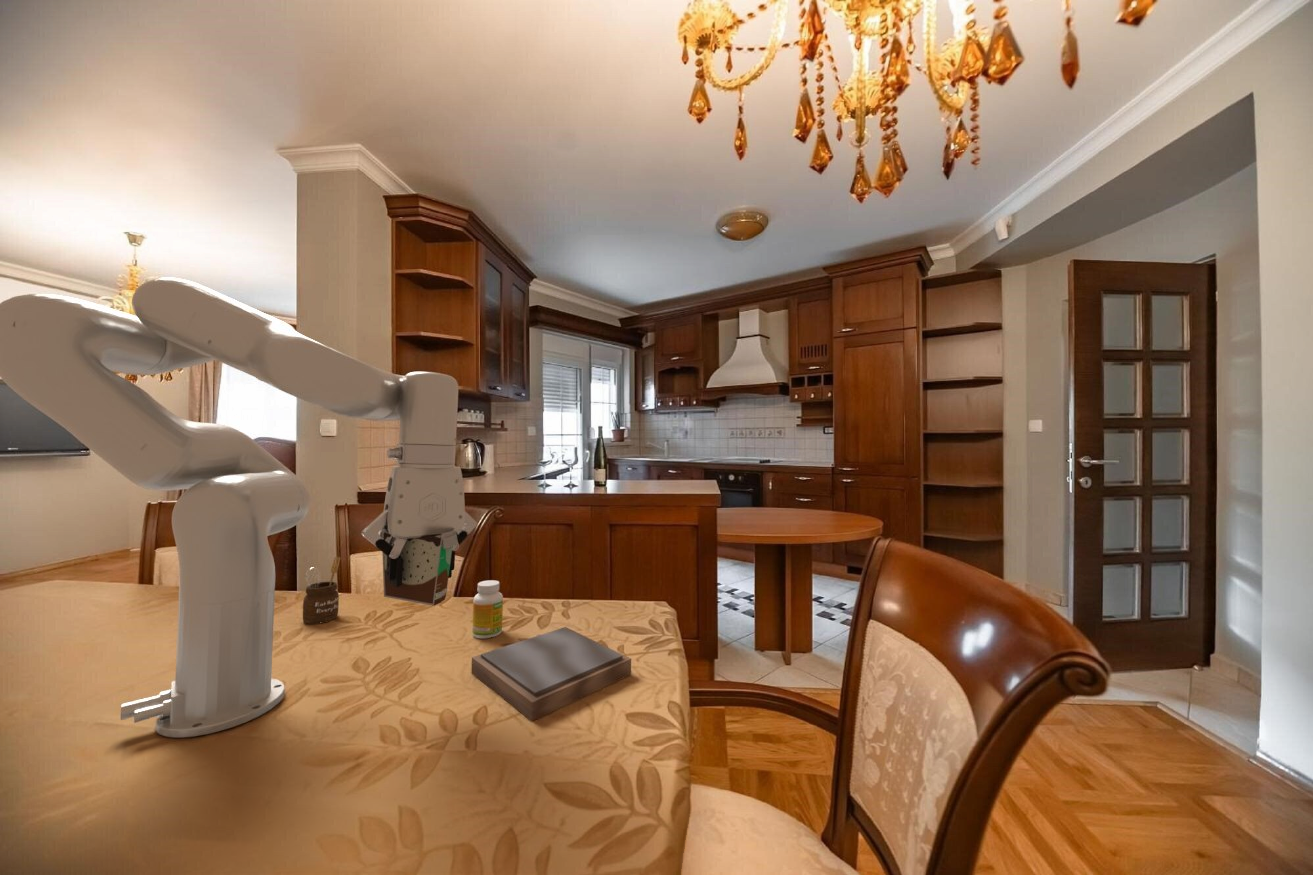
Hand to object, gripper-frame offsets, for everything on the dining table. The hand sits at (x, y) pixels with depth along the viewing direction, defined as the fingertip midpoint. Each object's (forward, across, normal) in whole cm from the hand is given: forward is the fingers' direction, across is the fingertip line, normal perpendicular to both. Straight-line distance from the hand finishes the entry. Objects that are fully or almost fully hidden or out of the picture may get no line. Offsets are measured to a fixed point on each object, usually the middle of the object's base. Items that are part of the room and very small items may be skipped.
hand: (421, 579), depth 67 cm
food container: (+3, +1, 0) cm, 3 cm away
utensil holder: (+17, -4, +44) cm, 47 cm away
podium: (+16, +18, -8) cm, 25 cm away
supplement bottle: (+17, +18, +14) cm, 28 cm away
